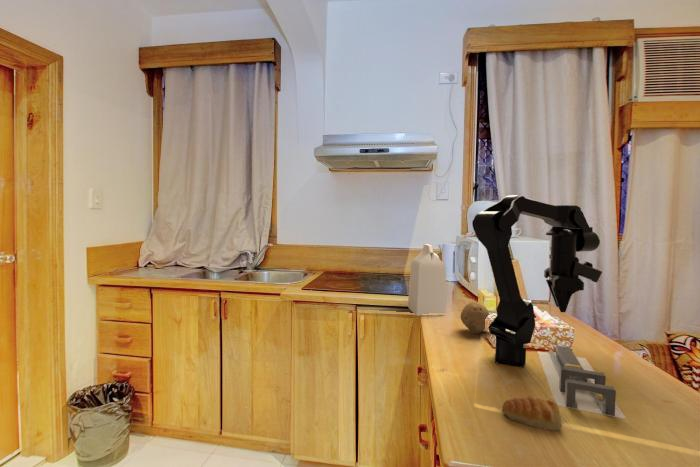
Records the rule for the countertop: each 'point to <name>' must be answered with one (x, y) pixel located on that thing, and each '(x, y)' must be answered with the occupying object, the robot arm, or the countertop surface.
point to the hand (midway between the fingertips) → (560, 309)
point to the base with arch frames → (579, 387)
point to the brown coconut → (474, 316)
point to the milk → (427, 283)
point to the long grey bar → (568, 361)
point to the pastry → (534, 412)
